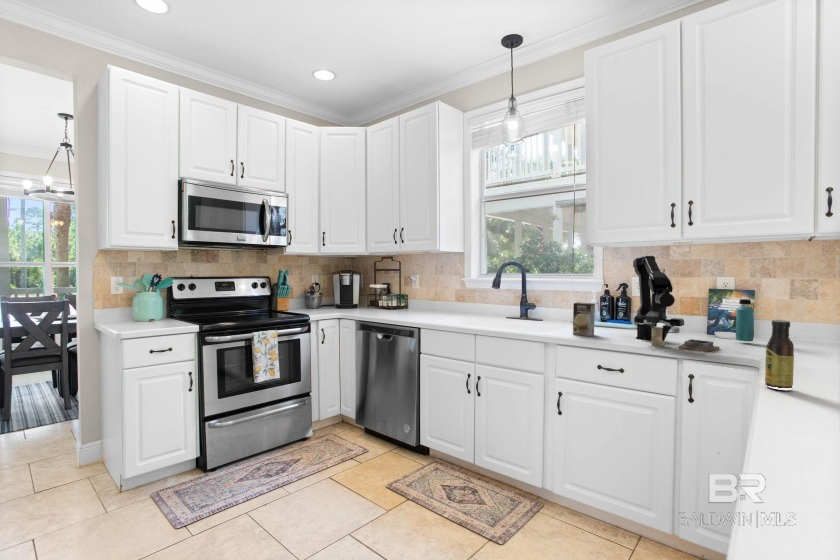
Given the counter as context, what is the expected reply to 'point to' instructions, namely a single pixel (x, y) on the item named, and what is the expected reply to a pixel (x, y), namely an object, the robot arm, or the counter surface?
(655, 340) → the maple peg
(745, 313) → the beverage bottle
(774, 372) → the sauce bottle
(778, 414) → the counter surface
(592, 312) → the coffee box
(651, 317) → the robot arm
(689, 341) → the socket holder
